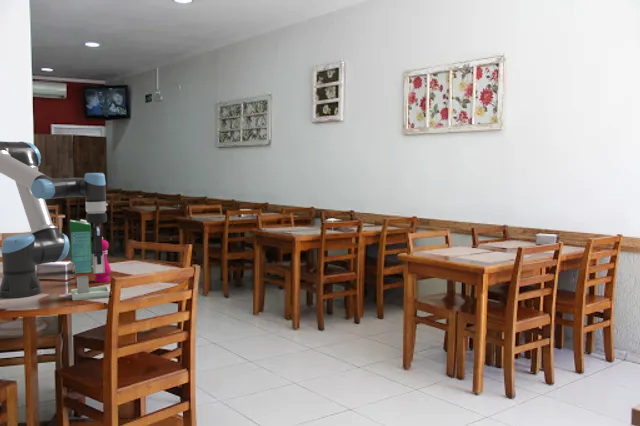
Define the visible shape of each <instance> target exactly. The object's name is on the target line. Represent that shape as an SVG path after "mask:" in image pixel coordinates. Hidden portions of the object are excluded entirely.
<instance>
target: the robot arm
mask: <svg viewBox="0 0 640 426" xmlns="http://www.w3.org/2000/svg"><path fill="white" fill-rule="evenodd" d="M41 159H42V155H41V153H40V150H39V149H38V147H37V146H36V145H35V144H33V143H31V142H25V141H2V140H1V141H0V174H2V175H4V176H6V177H7V178H9V179H11V180H13V181H14V182H15V184H16V189H17V191H18V195H19V197H20V201H21V203H22V206H23V210H24V212H25V215H26V218H27V222H28V225H29V227H30V233H21V234H16V235H15V234H14V235H11V236H8V237H5V238H4V239H3V240H2V241H1V249H0V250H1V251H0V252H1V259H2V260H1V261H2V279H1V282H0V296H1V298H7V299H9V298H24V297H25V298H26V297H31V296H36V295H39V294H41V293H42V286H41V283H40V281H39V278H38V276H37V272H36V270H37V269H36V266H37V265H38V266H40V265H44V264H50V263H51V264H52V263H56V262H60V261H63V260H64V259H66V257H67V256H68V254H69V251H70V248H71V244H70V240H69V238H68V236H67V235H66V234H65V233H62V232H60V230H59V227H58V226H56V225H54V224H53V221H52V217H51V215H50V212H49V208H48V206H47V203H46V200H51V199H61V198H62V199H65V198H85V212H86V214H85V220H86V221H87V223H90V224H93V226H91V238H93V239H92V241H93V242H92V243H93V249H92V250H93V254H95V255H93V256H92V258H93V257H94V256H95V271H96V273H102V272H103V258H102V255H103V252H102V237H103V232H104V228H103V226H101V225H102V224H104V223H106V222H107V221H108V215H107V214H108V213H107V212H106V211H107V206H108V205H109V204H108V203H107V190H106V189H107V188H106V187H107V186H106V185H107V183H106V176H105V174H104V172H86V173H85V174H84V177H68V178H66V177H65V178H52V177H50V176H48V175H46V174H44V173H43V172H41V171H39V167H40V165H41ZM101 223H102V224H101ZM103 238H104V237H103Z"/></svg>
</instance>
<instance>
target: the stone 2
mask: <svg viewBox="0 0 640 426" xmlns="http://www.w3.org/2000/svg"><path fill="white" fill-rule="evenodd" d="M93 255H95V254H94V253H92V273H93V275H95V274H96V271H95V256H94V257H93ZM102 258H103V272H102V273H105V266H104V254H103V255H102Z"/></svg>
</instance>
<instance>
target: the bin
mask: <svg viewBox="0 0 640 426" xmlns="http://www.w3.org/2000/svg"><path fill="white" fill-rule="evenodd" d="M110 290H111V288H110V286H109V285H107V286H93V287H92V286H91V287H89V293H82V294H77V288H72V289H71V290H70V292H71V300H72V301H82V300H94V299H105V298H110V297H109V292H110Z"/></svg>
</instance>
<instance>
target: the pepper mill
mask: <svg viewBox="0 0 640 426" xmlns="http://www.w3.org/2000/svg"><path fill="white" fill-rule="evenodd" d="M108 249H109V242H108V241H107V240H106V239H104V237H102V252H103V254H104V266H105V273H96V274H94V276H95V277H94V281H95V283H108V282H110V281H111V277H110V276H109V275H110V274H111V273H112V269H111V265H110V264H109V262H108Z"/></svg>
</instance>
